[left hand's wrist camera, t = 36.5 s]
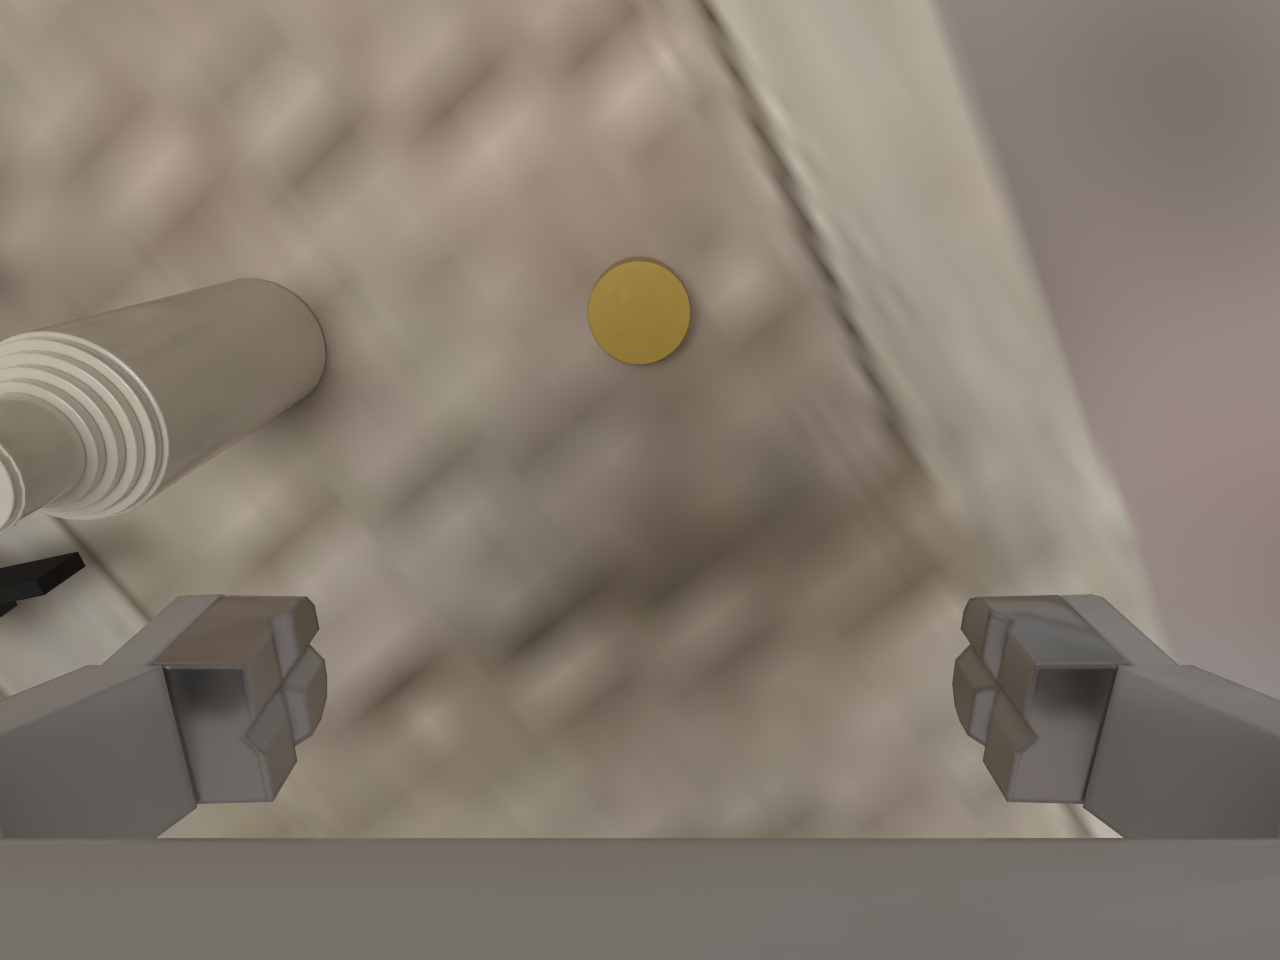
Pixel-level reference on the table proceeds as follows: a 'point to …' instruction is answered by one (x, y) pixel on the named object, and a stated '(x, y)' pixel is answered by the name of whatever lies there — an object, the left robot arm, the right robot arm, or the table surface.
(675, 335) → the cap
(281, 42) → the table surface
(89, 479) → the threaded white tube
